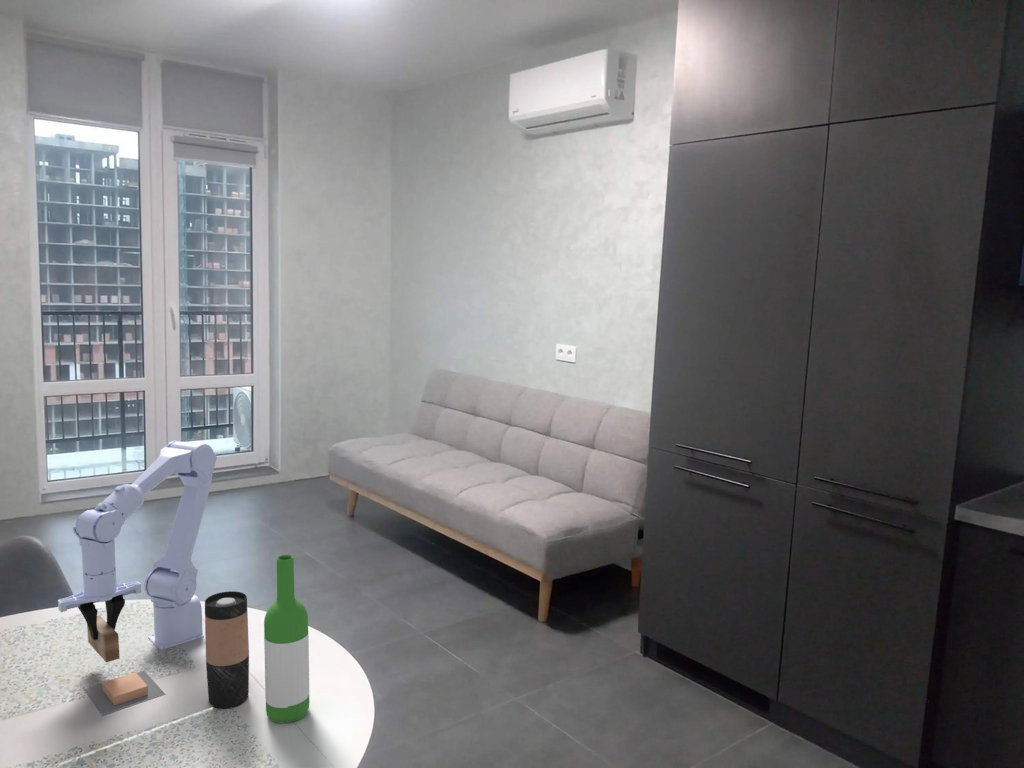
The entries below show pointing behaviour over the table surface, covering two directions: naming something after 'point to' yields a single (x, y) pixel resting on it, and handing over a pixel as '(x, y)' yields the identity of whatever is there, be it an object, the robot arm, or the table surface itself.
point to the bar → (105, 641)
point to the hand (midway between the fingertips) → (102, 635)
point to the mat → (108, 707)
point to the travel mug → (227, 649)
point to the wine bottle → (286, 650)
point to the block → (125, 688)
